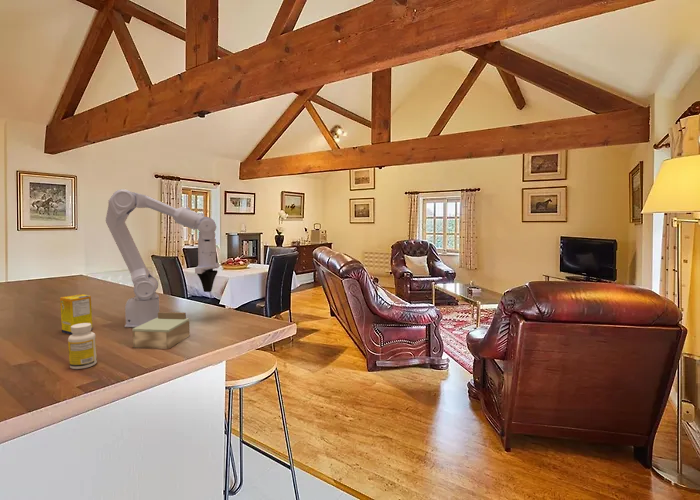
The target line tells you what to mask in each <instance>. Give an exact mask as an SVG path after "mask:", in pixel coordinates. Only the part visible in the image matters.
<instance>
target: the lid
mask: <svg viewBox="0 0 700 500" xmlns="http://www.w3.org/2000/svg"><path fill="white" fill-rule="evenodd" d="M186 314H187V313H186V312H179V311H177V312H175V311H174V312H172V311H159V312H158V318H155V319H153V320H151V321H148V322H146V323H144V324H142V325H140V326H138V327H132V331H146V332H170V331H171V330H173V329H175V328H177V327H179V326H180V325H182V324H184V323H186V322H188V321H189V322H190V318H188V317H186ZM132 331H131V332H132Z"/></svg>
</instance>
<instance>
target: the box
mask: <svg viewBox="0 0 700 500" xmlns="http://www.w3.org/2000/svg"><path fill="white" fill-rule="evenodd" d="M131 333H132V348H134V349H160V350H161V349H162V350H163V349H164V350H169V349H171V348H172V347H174V346H176V345H177V344H179V343H180V342H182V341H183V340H185V339H187V338H189V336H190V335H191V334H190V333H191V332H190V320H189V321H188V322H186V323H184V324H182V325H180V326H179V327H177V328H175V329H173V330H171V331H170V332H146V331H131Z"/></svg>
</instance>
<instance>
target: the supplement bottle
mask: <svg viewBox="0 0 700 500" xmlns="http://www.w3.org/2000/svg"><path fill="white" fill-rule="evenodd" d="M92 328H93V326H92V327H91V323H80V324H75V325H72V326H71V333H73V334H69V336H68V338H67V345H68V346H67V347H68V361H69V363H68V364H69V367H70V369H72V370H81V369H82V370H83V369H87V368H90V367H93V366H95V365H96V364H97V361H98V355H97V354H98V353H97V338H96V333H95V332H93V331H92V330H93V329H92Z"/></svg>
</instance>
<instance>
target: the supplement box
mask: <svg viewBox="0 0 700 500" xmlns="http://www.w3.org/2000/svg"><path fill="white" fill-rule="evenodd" d="M59 302H60V306H59V307H60V318H61V319H60V321H61V322H60V323H61V332H62V333H64V334H68V335H72V334H73V333H71V326H72V325H75V324H80V323H91V327H92V330H93V328H94V327H93V314H92V313H93V310H92V296H91V295H88V294H82V293H80V294H73V295H68V296H60V297H59Z"/></svg>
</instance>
